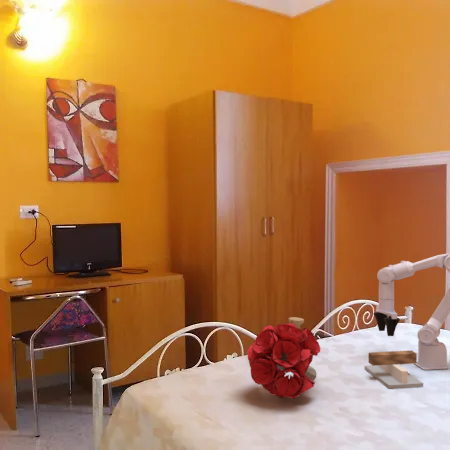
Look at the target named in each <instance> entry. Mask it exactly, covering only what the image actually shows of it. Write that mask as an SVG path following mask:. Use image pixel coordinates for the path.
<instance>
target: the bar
mask: <svg viewBox="0 0 450 450" xmlns="http://www.w3.org/2000/svg"><path fill="white" fill-rule="evenodd" d="M417 355H418V353H417V352H415V351H414V350H395V351H393V350H392V351H376V352H374V351H373V352H372V351H371V352H368V363H369V364H370V365H373V366H375V365H393V364H398V365H405V364H406V365H409V364H410V365H411V364H414V363H417V362H418V356H417Z"/></svg>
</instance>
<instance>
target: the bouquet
mask: <svg viewBox="0 0 450 450" xmlns="http://www.w3.org/2000/svg"><path fill="white" fill-rule="evenodd" d="M246 353H247V359H248V363H249V367H250V377H251V379H252V380H253V382H254V383H255V384H257V385H262V387H263V389H264V390H266V391H267V392H268V393H270V394H271V395H274V396H276V397H279V398H284V397H285V398H289V399H290V398H291V399H293V400H296V399H297V397H299V396H301V395H302V394H304V393H305V392H308V391H309V390H310V389H312V388H315V385H316V384H315V382H314V381H315V380H316V378H317V376H318V374H317V370H316V369H315V368H314V367H313V366H310V365H311V363H312V361H313V358H314V356H315V357H317V356H318V354H319V353H321V346H320V342H318V340H317V338H316V336H315V335H314V332H312V331H311V329H309V328H308V327H305V328H302V329H299V328H297V326H296V325H295V324H293V323H290V322H289V323H278V324H276V325H275V326H273V325H267V326H264V328H262V329H261V331H260V332H259V333H258V334H257V336H256V337H255V340H254V341H253V344H251V345H250V346H249V347H248V348H247V350H246ZM287 373H291V374H287Z"/></svg>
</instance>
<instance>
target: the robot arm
mask: <svg viewBox="0 0 450 450" xmlns="http://www.w3.org/2000/svg"><path fill="white" fill-rule="evenodd" d="M432 267H437V268H440V269H444V268H445V269H446V270H447V271H448V273H449V274H450V253H443V254H438V255H435V256H431V257H429V258H428V257H427V258H424V259H422V260H419V261H415V262H410V261H409V260H407V261H405V260H401V261H400V263H396V264H389V265H388V266H387V267H386V266H385V267H382V268H381V269H379V270H378V272H377V275H376V277H377V280H378V305H376V306H375V312H373V316H374V317H375V320H376V323H377V328H378V331H379V332H385V331H386V334H387V337H394V336H395V333H396V332H395V331H396V328H397V326H398V323H399V322H400V320H401V319H400V318H399V317H398V313H397V312H396V311H395V281H398V280H402V279H405V278H408V277H413V276H414V275H415V273H416V272H417V271H422V270H426V269H430V268H432ZM449 315H450V287H449V288H448V289H447V291H446V293H445V294H444V296H443V297H442V299H441V300H440V303H439V304H438V306H437V307H436V309H435V310H434V312H433V313H432V315H431V317H430V318H429V320H428V321H427V322H426V323H424V324H423V325H422V327H421V328H420V329H418V331H417V339H418V344H417V345H418V346H417V347H418V351H417V352H418V353H417V355H418V356H417V363H413V364H414V365H416V367H417V366H418V367H419V368H420V369H422V370H423V371H428V370H431V371H432V370H446V369H448V368H449V367H448V366H447V364H448V363H447V362H448V361H447V360H448V354H447V353H448V352H447V351H448V350H447V347H446V344H445V343H444V342H441V341H439V339H438V337H439V336H440V334H441V328H442V327H443V325H444V323H445V321H446V319H447V318H448V317H449Z"/></svg>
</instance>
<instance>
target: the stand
mask: <svg viewBox="0 0 450 450" xmlns="http://www.w3.org/2000/svg"><path fill="white" fill-rule="evenodd" d="M364 370H365V371H366V372H368V373H369V374H370V375H372V377H374V378H375V379H376V380H377V381H378V382H380V383H381V384H382V385H383V386H385V387H386V388H387V389H389V390H392V389H393V390H394V389H408V388H410V389H411V388H424V382H422V381H421V380H419V379H418V378H416V377H415V376H414V375H412V374H410V373H409V372H408V370H406V369H405V368H404V367H402V366H401V365H400V364H393V365H375V366H373V365H371V364H370V365H364Z"/></svg>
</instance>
